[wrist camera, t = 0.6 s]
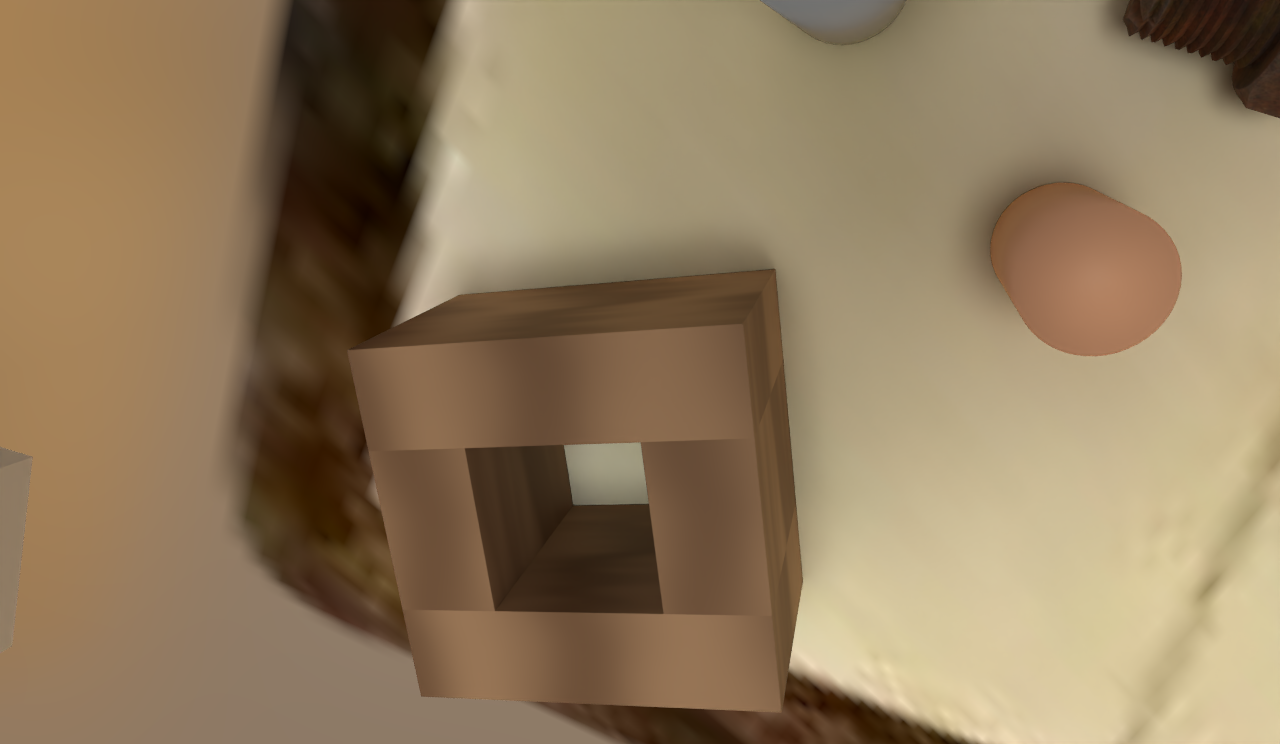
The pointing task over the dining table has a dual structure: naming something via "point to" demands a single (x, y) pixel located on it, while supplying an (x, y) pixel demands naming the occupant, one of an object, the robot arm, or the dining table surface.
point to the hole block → (591, 534)
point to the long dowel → (839, 17)
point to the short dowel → (1085, 269)
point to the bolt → (1221, 39)
